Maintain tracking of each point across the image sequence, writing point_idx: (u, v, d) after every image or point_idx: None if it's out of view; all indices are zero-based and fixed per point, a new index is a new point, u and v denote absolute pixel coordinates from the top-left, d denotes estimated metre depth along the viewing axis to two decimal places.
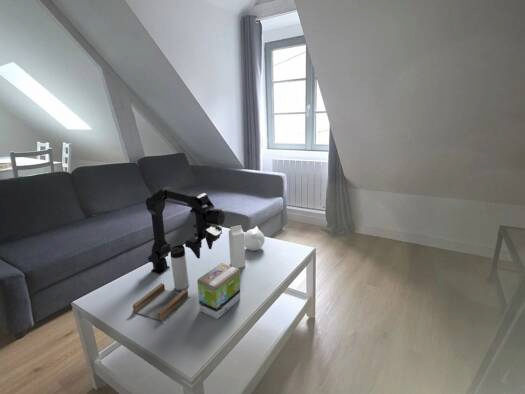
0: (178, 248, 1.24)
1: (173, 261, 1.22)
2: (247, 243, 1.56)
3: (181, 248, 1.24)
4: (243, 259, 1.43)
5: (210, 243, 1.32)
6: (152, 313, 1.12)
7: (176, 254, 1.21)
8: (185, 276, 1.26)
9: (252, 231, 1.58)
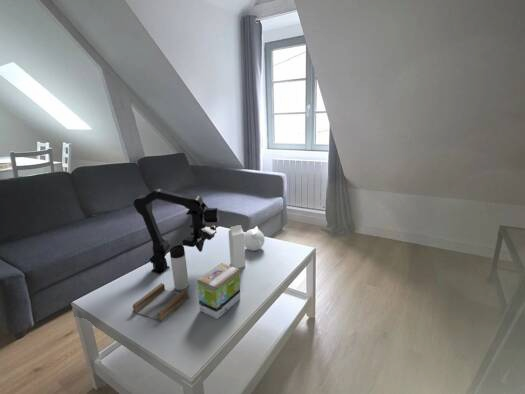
0: (178, 248, 1.24)
1: (173, 261, 1.22)
2: (247, 243, 1.56)
3: (181, 248, 1.24)
4: (243, 259, 1.43)
5: None
6: (152, 313, 1.12)
7: (176, 254, 1.21)
8: (185, 276, 1.25)
9: (252, 231, 1.58)
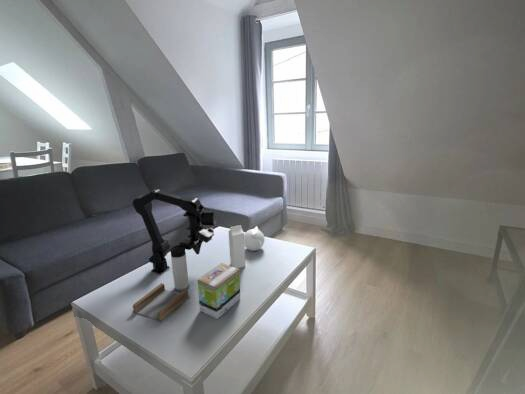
0: (178, 248, 1.25)
1: (173, 261, 1.22)
2: (247, 243, 1.56)
3: (181, 248, 1.25)
4: (243, 259, 1.43)
5: None
6: (152, 313, 1.12)
7: (176, 254, 1.21)
8: (185, 276, 1.26)
9: (252, 231, 1.58)
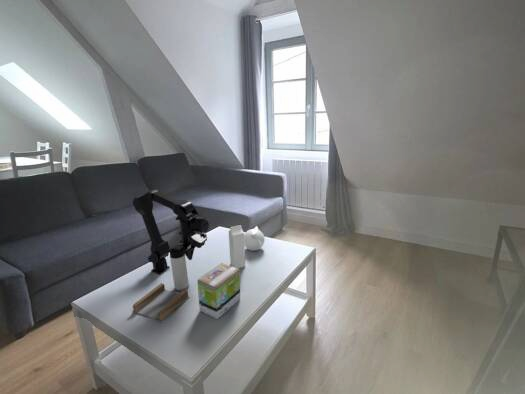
0: None
1: (172, 261, 1.22)
2: (247, 243, 1.56)
3: None
4: (243, 259, 1.43)
5: None
6: (152, 313, 1.12)
7: (175, 254, 1.20)
8: (185, 276, 1.25)
9: (252, 231, 1.58)
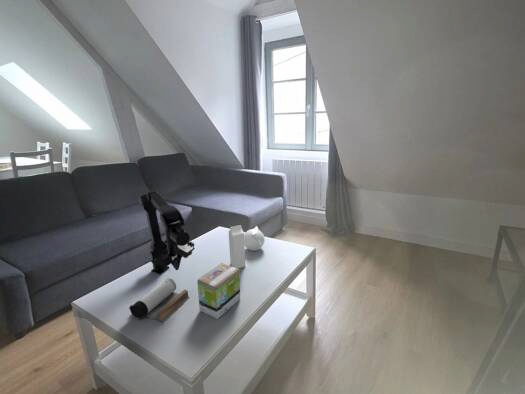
0: (135, 309, 1.09)
1: (150, 310, 1.12)
2: (247, 243, 1.56)
3: (135, 307, 1.08)
4: (243, 259, 1.43)
5: None
6: (152, 313, 1.12)
7: (144, 313, 1.08)
8: (163, 289, 1.18)
9: (252, 231, 1.58)
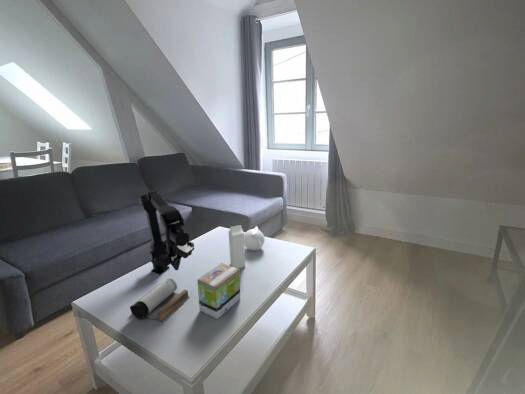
0: (135, 310, 1.09)
1: None
2: (247, 243, 1.56)
3: (136, 307, 1.08)
4: (243, 259, 1.43)
5: None
6: (152, 313, 1.12)
7: (145, 314, 1.08)
8: (164, 290, 1.18)
9: (252, 231, 1.58)
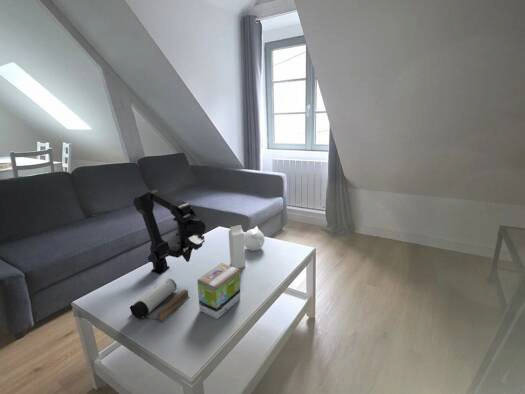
0: (135, 310, 1.09)
1: (150, 311, 1.12)
2: (247, 243, 1.56)
3: (136, 307, 1.08)
4: (243, 259, 1.43)
5: None
6: (152, 313, 1.12)
7: (145, 313, 1.08)
8: (164, 290, 1.18)
9: (252, 231, 1.58)
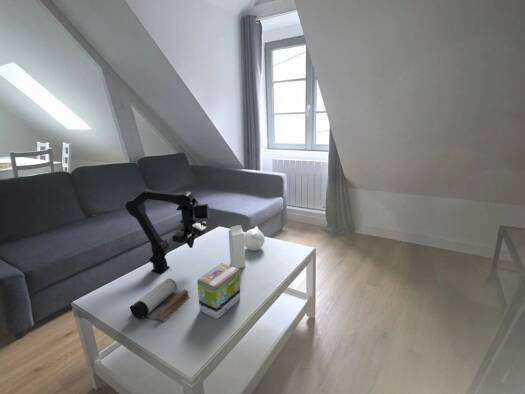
0: (135, 310, 1.09)
1: (150, 311, 1.12)
2: (247, 243, 1.56)
3: (136, 307, 1.08)
4: (243, 259, 1.43)
5: None
6: (152, 313, 1.12)
7: (145, 313, 1.08)
8: (164, 290, 1.18)
9: (252, 231, 1.58)
